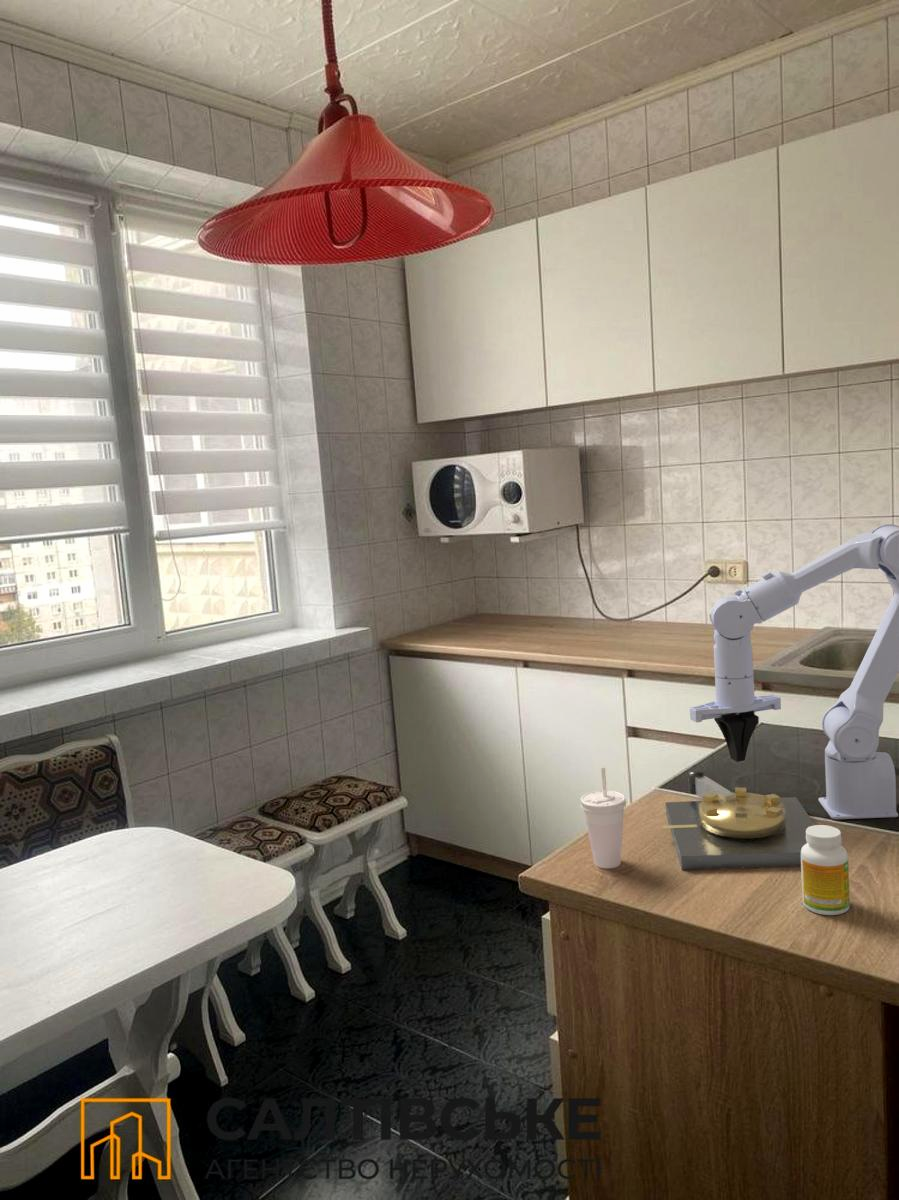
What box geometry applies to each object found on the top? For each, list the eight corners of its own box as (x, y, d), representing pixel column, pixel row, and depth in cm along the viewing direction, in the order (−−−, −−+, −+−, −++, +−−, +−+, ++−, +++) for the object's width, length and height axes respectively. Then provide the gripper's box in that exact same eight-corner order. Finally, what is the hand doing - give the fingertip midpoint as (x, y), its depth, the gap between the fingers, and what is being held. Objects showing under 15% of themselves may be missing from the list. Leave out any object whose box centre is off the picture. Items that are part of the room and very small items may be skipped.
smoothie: (639, 859, 128) (632, 765, 126) (614, 876, 123) (607, 779, 122) (601, 849, 132) (594, 758, 130) (576, 866, 128) (568, 771, 126)
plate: (796, 809, 140) (795, 796, 140) (833, 865, 121) (833, 850, 121) (656, 814, 143) (655, 802, 143) (670, 870, 124) (669, 855, 124)
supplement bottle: (854, 917, 107) (852, 840, 106) (807, 916, 109) (804, 840, 107) (844, 895, 113) (842, 822, 111) (799, 895, 114) (796, 822, 112)
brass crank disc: (802, 829, 127) (802, 806, 127) (726, 844, 125) (724, 820, 124) (726, 783, 147) (725, 763, 147) (659, 795, 145) (658, 775, 144)
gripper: (761, 663, 144) (765, 745, 146) (678, 675, 141) (683, 758, 143) (787, 672, 137) (790, 757, 139) (700, 685, 134) (705, 772, 136)
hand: (737, 759), depth 141 cm, fingers closed
